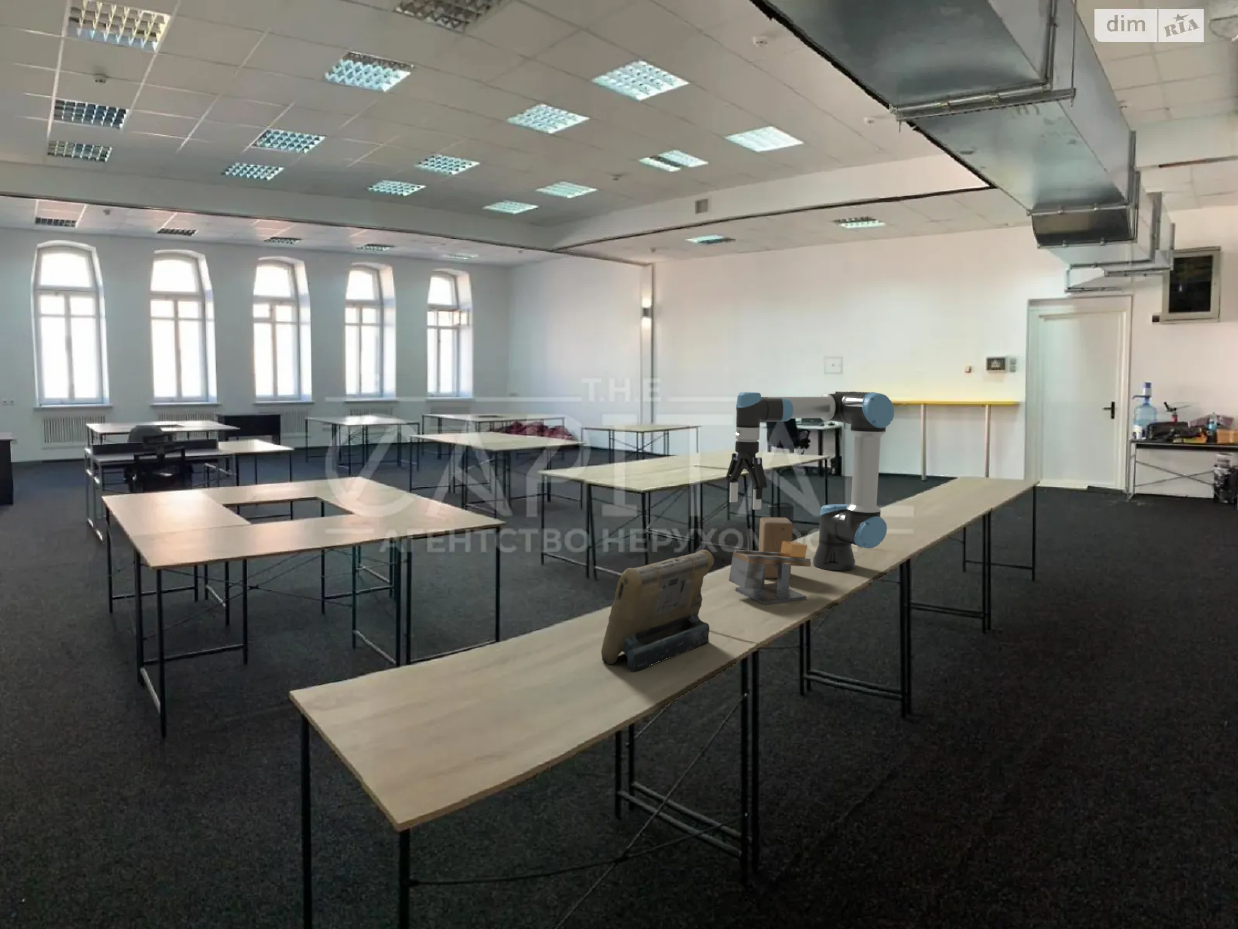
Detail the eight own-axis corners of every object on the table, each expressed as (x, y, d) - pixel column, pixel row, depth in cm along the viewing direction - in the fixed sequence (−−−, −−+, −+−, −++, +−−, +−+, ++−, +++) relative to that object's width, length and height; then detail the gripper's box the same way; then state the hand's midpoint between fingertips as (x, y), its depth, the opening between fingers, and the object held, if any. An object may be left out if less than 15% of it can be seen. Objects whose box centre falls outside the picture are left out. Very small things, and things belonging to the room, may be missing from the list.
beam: (789, 583, 252) (794, 553, 251) (806, 591, 244) (811, 559, 243) (728, 580, 242) (733, 549, 241) (744, 588, 234) (749, 555, 233)
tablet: (673, 628, 211) (675, 540, 208) (715, 640, 202) (718, 549, 199) (596, 662, 186) (597, 563, 183) (641, 678, 177) (643, 573, 174)
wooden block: (791, 579, 262) (793, 522, 259) (762, 579, 262) (764, 522, 260) (785, 571, 272) (787, 517, 269) (757, 571, 272) (759, 516, 269)
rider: (794, 556, 249) (797, 542, 249) (804, 560, 244) (807, 545, 244) (779, 555, 247) (782, 540, 246) (789, 559, 242) (792, 544, 242)
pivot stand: (776, 585, 254) (777, 550, 253) (806, 599, 240) (807, 562, 238) (735, 590, 248) (736, 554, 246) (763, 604, 233) (765, 566, 232)
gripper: (716, 437, 253) (714, 499, 256) (759, 444, 230) (757, 513, 233) (736, 436, 256) (733, 498, 259) (780, 443, 233) (777, 511, 236)
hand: (744, 505), depth 246 cm, fingers open, 13 cm apart
